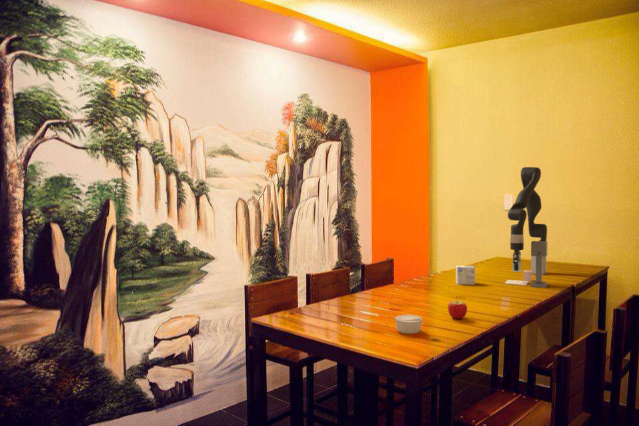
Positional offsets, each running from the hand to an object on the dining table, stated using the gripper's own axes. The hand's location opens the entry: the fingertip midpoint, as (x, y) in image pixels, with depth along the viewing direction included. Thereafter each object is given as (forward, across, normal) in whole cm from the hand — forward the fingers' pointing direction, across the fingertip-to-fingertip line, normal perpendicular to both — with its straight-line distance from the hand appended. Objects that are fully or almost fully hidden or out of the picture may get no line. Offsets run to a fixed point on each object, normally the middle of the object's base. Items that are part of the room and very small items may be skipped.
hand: (516, 269), depth 304 cm
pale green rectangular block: (+1, 0, 0) cm, 1 cm away
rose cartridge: (+8, +10, -5) cm, 14 cm away
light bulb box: (+8, -16, +27) cm, 32 cm away
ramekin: (+9, -125, +24) cm, 127 cm away
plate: (+8, 0, 0) cm, 8 cm away
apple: (+9, -97, +11) cm, 98 cm away
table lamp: (+8, -5, -13) cm, 16 cm away
